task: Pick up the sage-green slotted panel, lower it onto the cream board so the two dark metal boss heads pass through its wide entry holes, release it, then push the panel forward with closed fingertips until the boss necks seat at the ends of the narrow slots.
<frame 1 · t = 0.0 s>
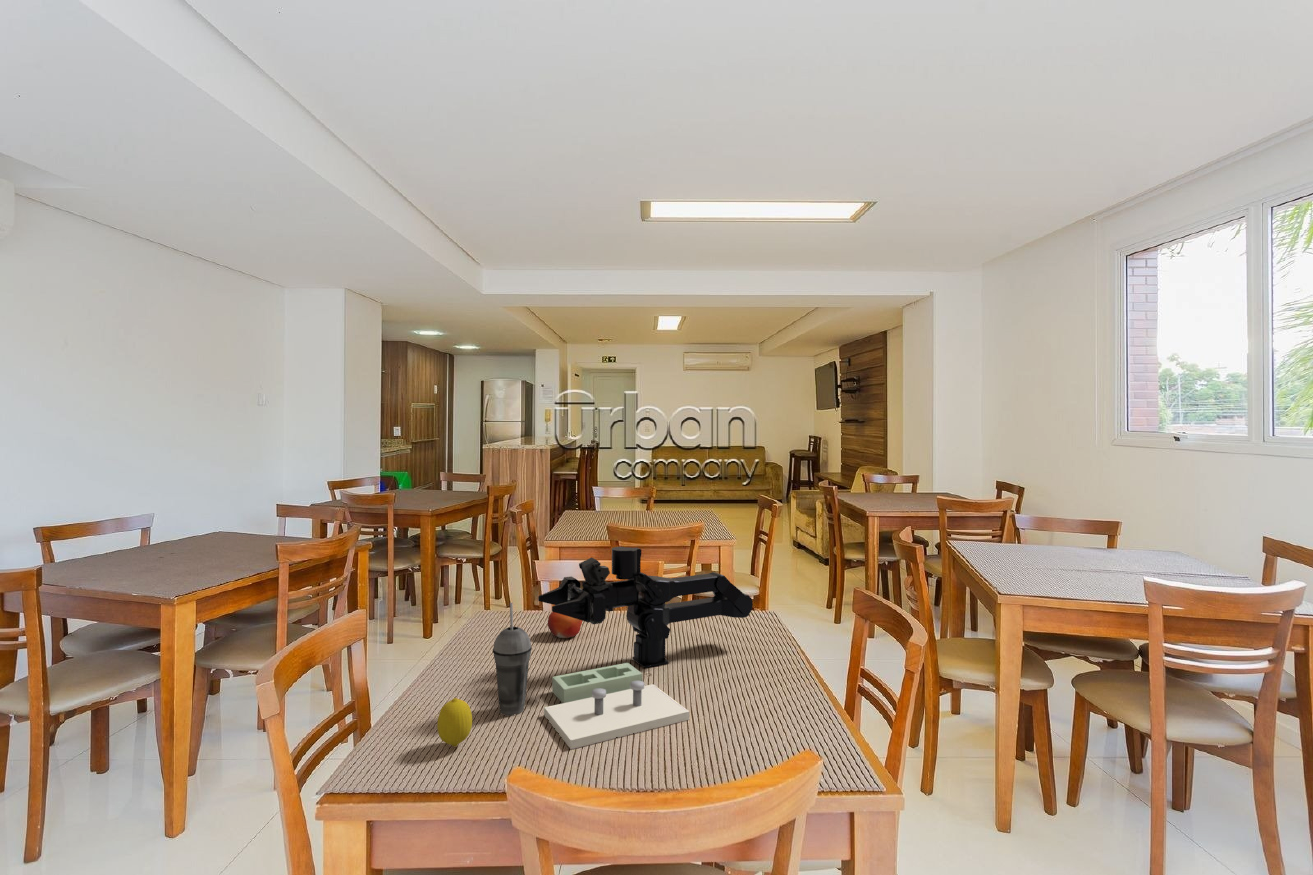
hand: (545, 603, 127), 17 cm above the table, tool horizontal, fingers open, 9 cm apart
lemon: (454, 747, 100), on the table
board: (616, 717, 111), on the table
beverage cup: (511, 711, 114), on the table
panel: (597, 689, 123), on the table
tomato: (565, 636, 158), on the table
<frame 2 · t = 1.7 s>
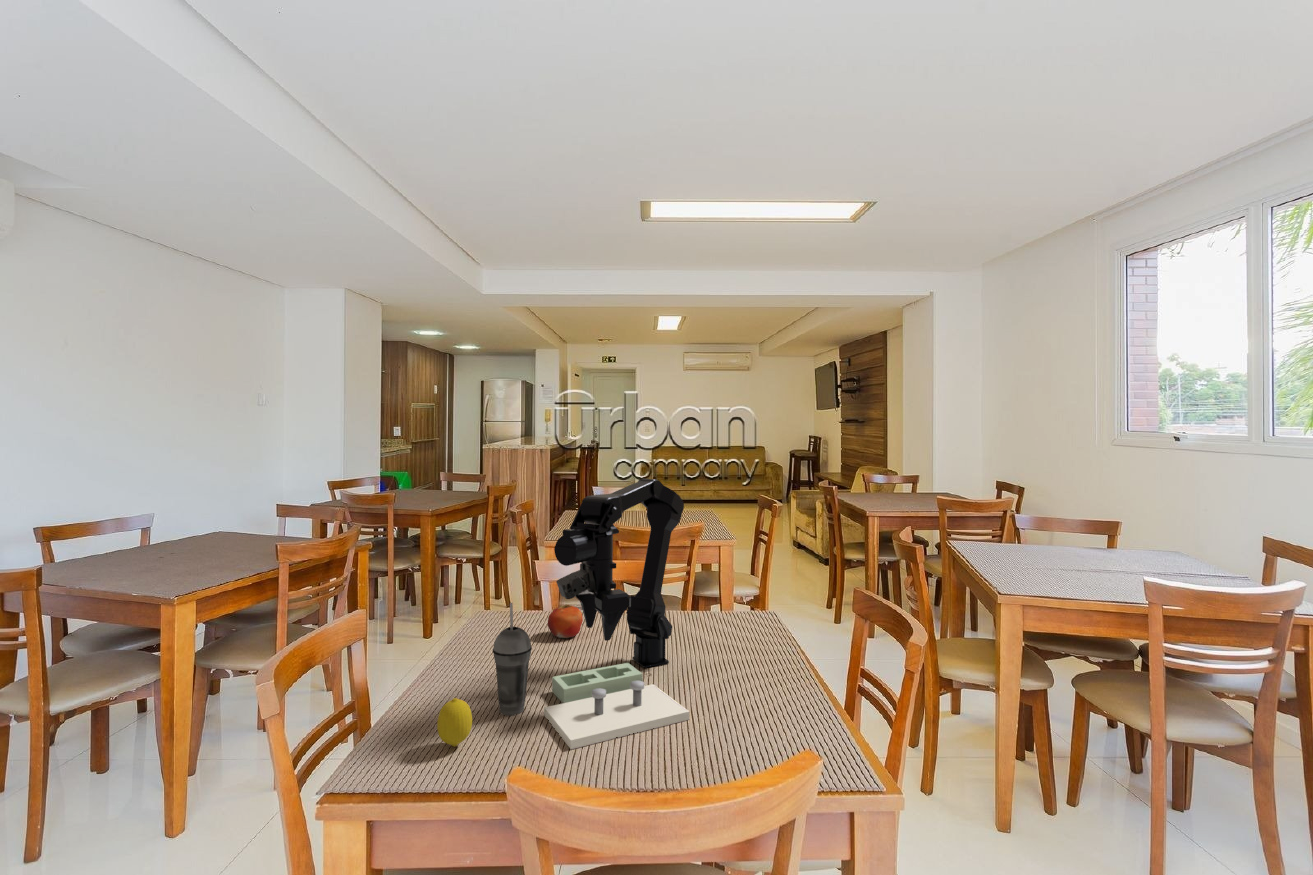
hand: (598, 633, 123), 11 cm above the table, tool pointing down, fingers open, 9 cm apart
nothing on the table moved.
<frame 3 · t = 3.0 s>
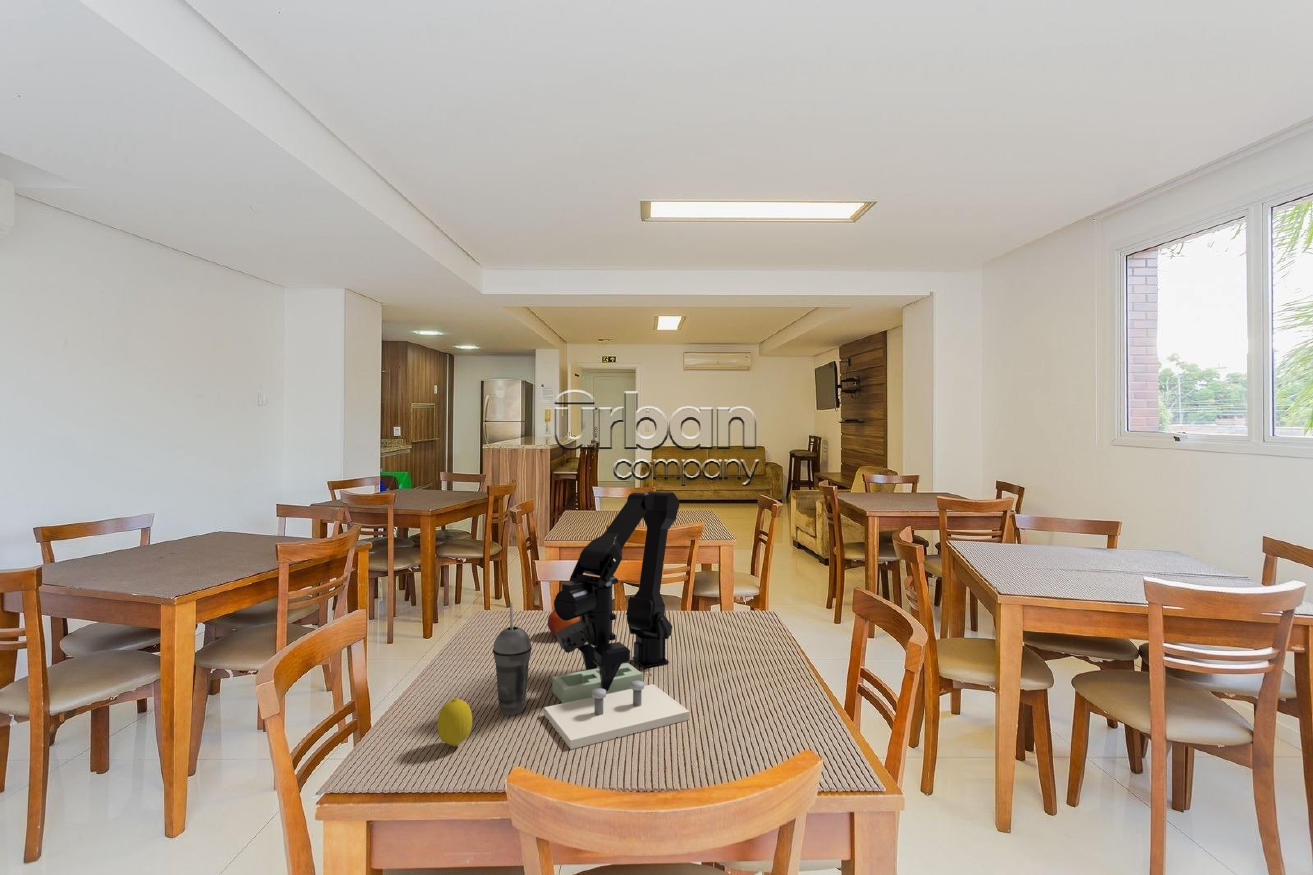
hand: (597, 684, 123), 1 cm above the table, tool pointing down, fingers closed on panel, 7 cm apart
panel: (597, 689, 123), on the table, touching gripper
everything else where it was.
when the fingers open (3 cm above the table, at t = 7.3 s): panel stays where it is, resting on board.
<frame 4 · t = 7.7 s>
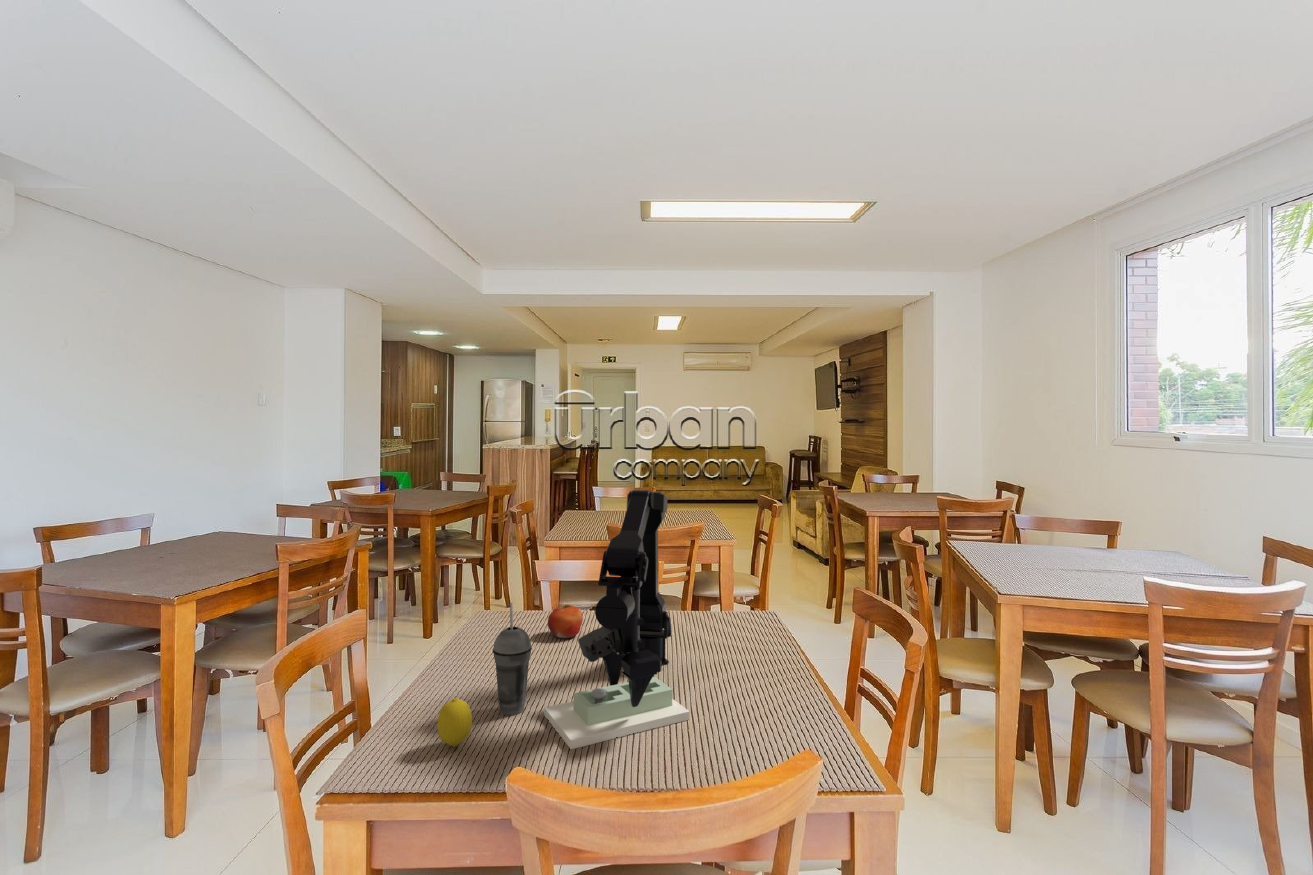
hand: (623, 696, 112), 3 cm above the table, tool pointing down, fingers open, 9 cm apart
panel: (623, 707, 112), point 1 cm above the table, touching board
everything else where it was.
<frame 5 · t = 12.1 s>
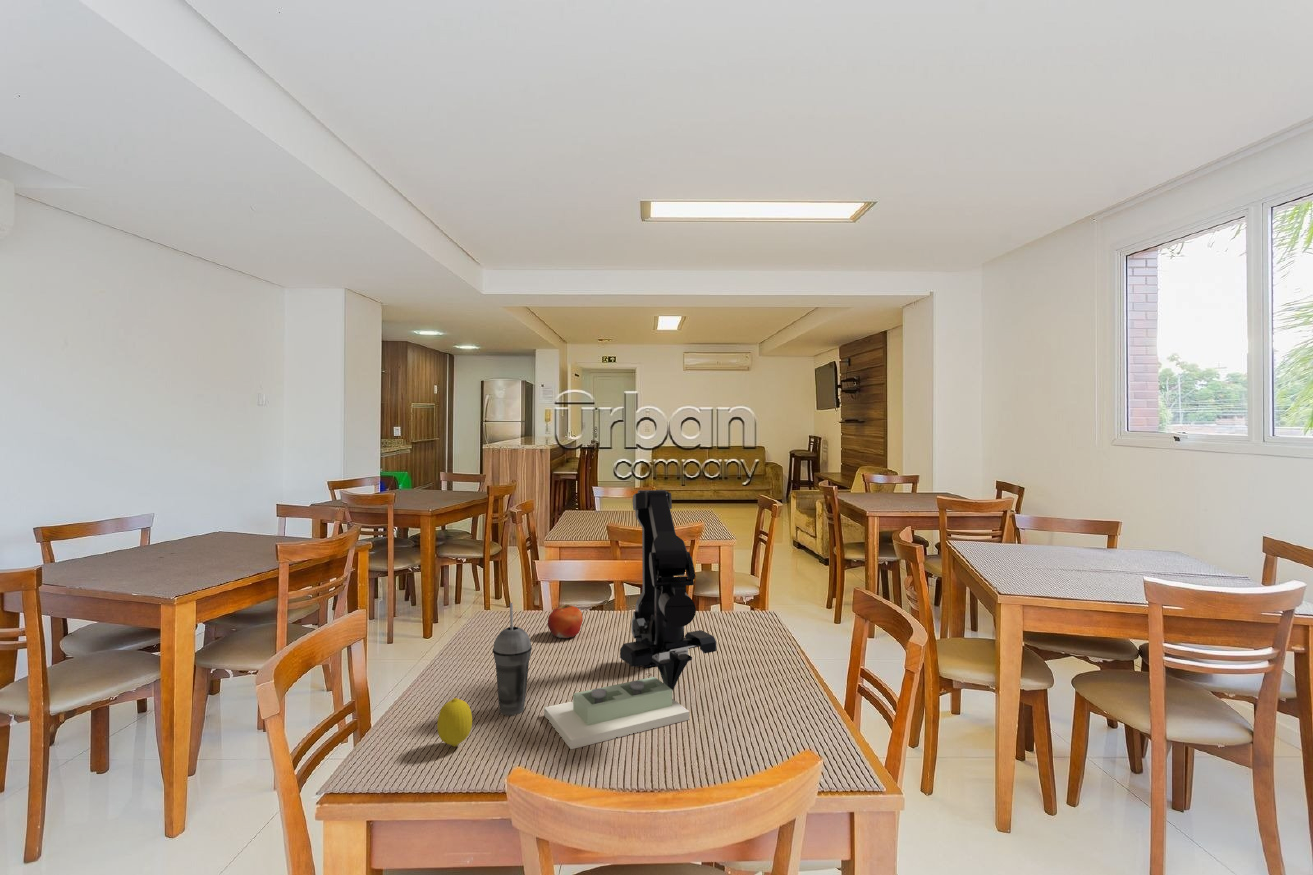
hand: (669, 692, 116), 3 cm above the table, tool pointing down, fingers closed
panel: (623, 707, 112), point 2 cm above the table, touching board, gripper
everything else where it was.
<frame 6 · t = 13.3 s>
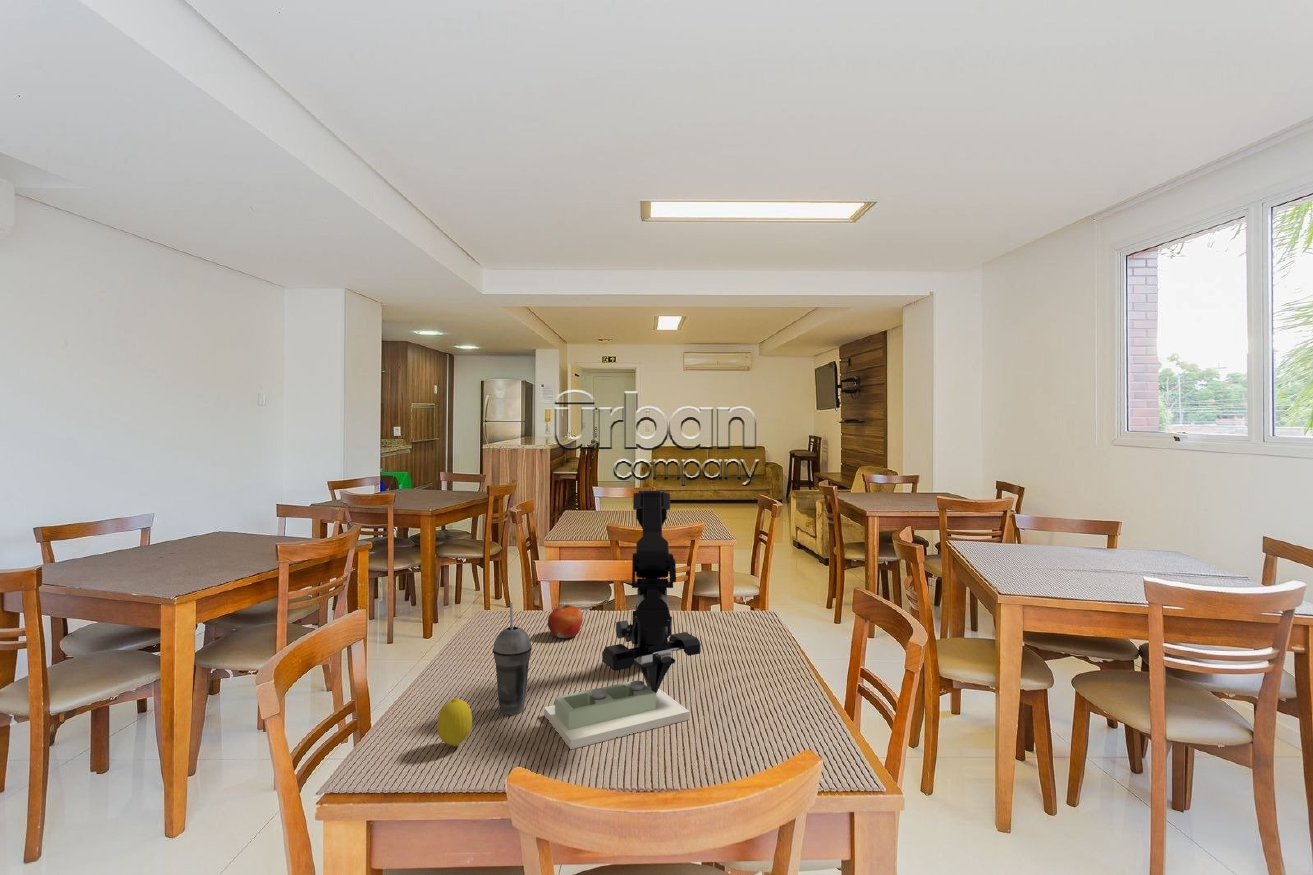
hand: (652, 695, 115), 3 cm above the table, tool pointing down, fingers closed
panel: (605, 711, 110), point 1 cm above the table, touching board, gripper
everything else where it was.
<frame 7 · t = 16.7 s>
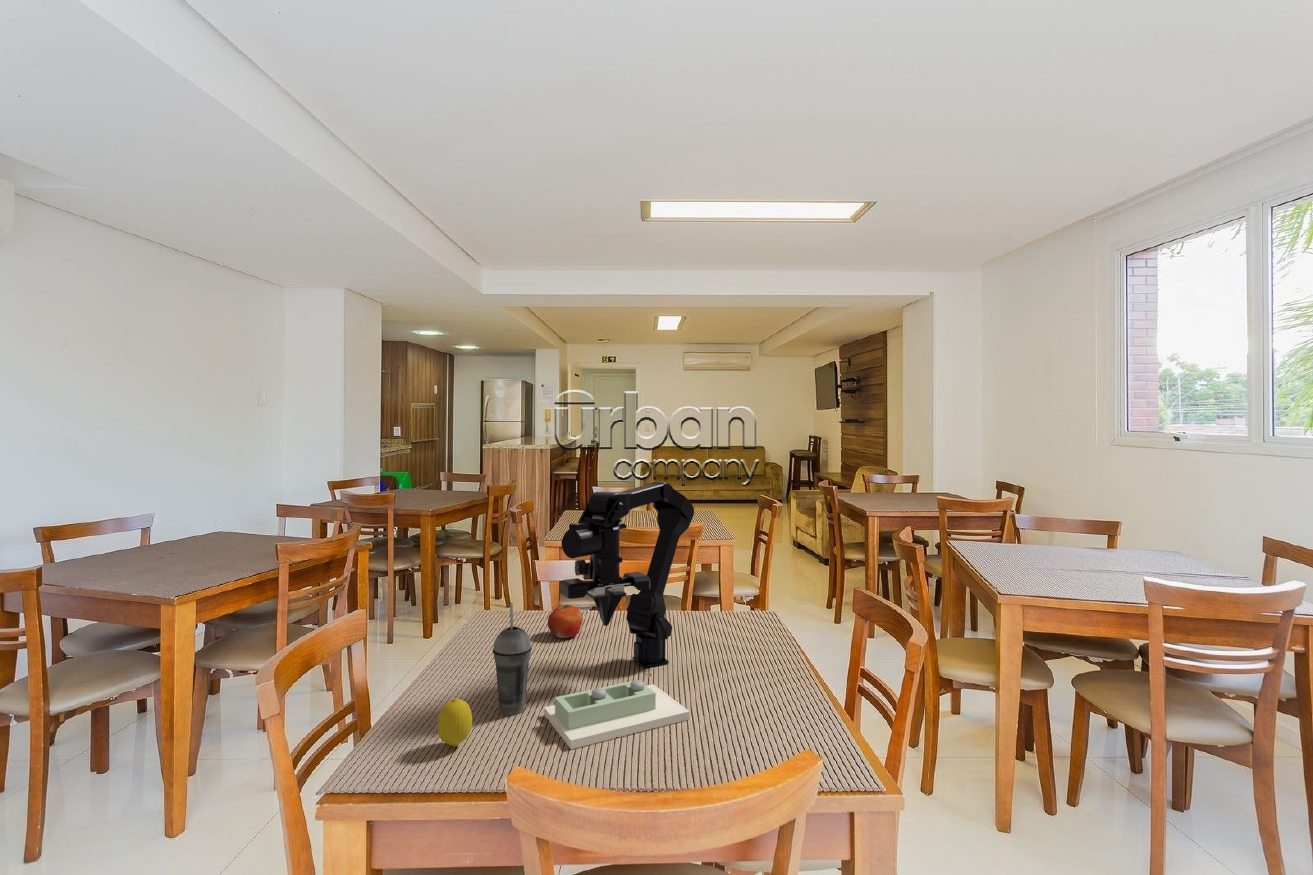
hand: (605, 625, 127), 12 cm above the table, tool pointing down, fingers closed
panel: (605, 711, 110), point 1 cm above the table, touching board
everything else where it was.
at the end: panel 0.1 cm from the target spot, point 1.5 cm above the table; panel tilted 0°; the gripper is holding nothing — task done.
